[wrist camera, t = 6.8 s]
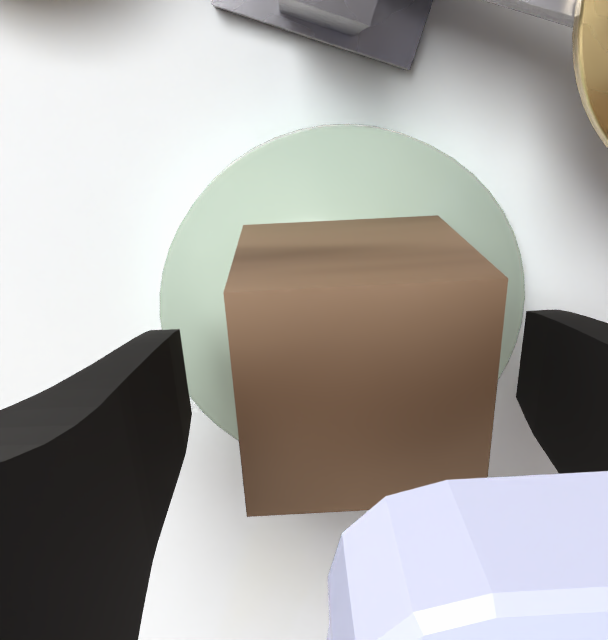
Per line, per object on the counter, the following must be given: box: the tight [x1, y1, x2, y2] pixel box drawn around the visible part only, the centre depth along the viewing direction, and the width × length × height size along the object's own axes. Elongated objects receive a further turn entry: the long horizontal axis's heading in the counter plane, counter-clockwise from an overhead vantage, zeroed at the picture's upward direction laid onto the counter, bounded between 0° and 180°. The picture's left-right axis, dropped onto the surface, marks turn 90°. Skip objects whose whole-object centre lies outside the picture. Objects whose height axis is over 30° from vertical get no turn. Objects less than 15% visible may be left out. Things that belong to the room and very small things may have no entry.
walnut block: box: [223, 215, 508, 517], centre depth 12 cm, size 4×4×4 cm
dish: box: [160, 124, 525, 440], centre depth 14 cm, size 9×9×1 cm
